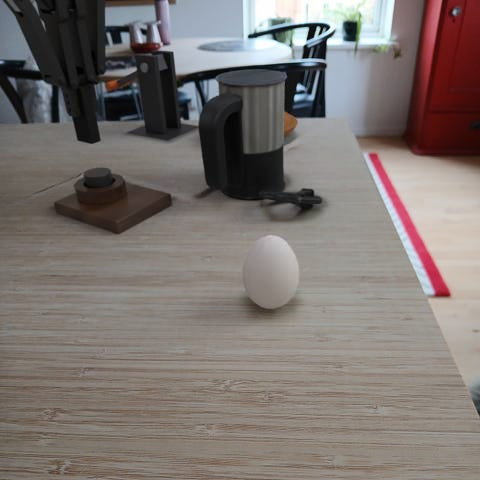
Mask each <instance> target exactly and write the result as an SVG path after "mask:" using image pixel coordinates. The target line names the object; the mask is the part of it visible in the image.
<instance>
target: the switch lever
mask: <svg viewBox="0 0 480 480" xmlns="http://www.w3.org/2000/svg"><path fill="white" fill-rule="evenodd" d="M156 56H158V63H159V71H160V72H161V71H163V70H165V69H167V65H166V62H165V60H164V57H163V54H159V55H156ZM136 79H138V75H137V70H134V71H133V72H130V73H129V74H126V75H125V76H123V77H120V78H118V79H114V80H110V81H107V82H105V84H104V87H105V89H106V91H108V92H111V91H114V90H119V89H121V88H125V87H128V86H130V84H131V82H132V81H135V80H136Z"/></svg>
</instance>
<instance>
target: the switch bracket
mask: <svg viewBox="0 0 480 480" xmlns="http://www.w3.org/2000/svg"><path fill="white" fill-rule="evenodd" d="M159 54H163V57H164V60H165V62H166V65H167V69H165V70H163V71H161V72H160V71H159V63H158V56H156V55H159ZM134 60H135V67H136V71H137V75H138V78H137V81H138V88H139V94H140V101H141V109H142V115H143V122H144V125H142V126H140V127H137V128H135V129H132V130H129V131H127V134H131V135H136V136H142V137H146V138H151V139H157V140H161V141H167V142H169V141H171V140H173V139H176V138H178V137H180V136H183V135H185V134H187V133H190V132H192V131H194V130H197V129H199V125H195V124H193V125H192V124H187V123H182V121H181V119H182V118H181V110H180V101H179V100H180V99H179V91H178V82H177V73H176V72H177V71H176V63H175V62H176V61H175V54H174V51H170V50H158V49H153V50H150V54H146V53H145V54H144V53H143V54H142V53H137V54H134Z"/></svg>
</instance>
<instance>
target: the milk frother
mask: <svg viewBox="0 0 480 480" xmlns="http://www.w3.org/2000/svg"><path fill="white" fill-rule="evenodd" d="M287 78H288V75H287V74H286V73H285V72H283V71H279V70H270V69H259V68H258V69H256V68H255V69H254V68H253V69H252V68H251V69H239V70H233V71H231V70H230V71H228V72H224V73H220V74H218V75H216V76H215V81H216V82H217V84H218V95H216V96H213V97H211V98H210V99H208V101H207V102H206V103H205V104H204V105H203V106H202V108H201V111H200V114H199V118H198V126H199V128H198V134H199V143H200V152H201V159H202V166H203V173H204V180H205V184H206V186H207V187H208V188H210V189H215V190H218V191H222V192H223V193H224V194H226V195H227V196H230V197H233V198H237V199H241V200H260V199H264V200H269V201H276V202H282V203H283V202H285V203H290V204H292V205H295V206H297V207H298V208H300V209H303V210H312V209H313V207H314V205H321V204H323V197H321V196H319V195H316V192H315V190H314V189H313V188H307V187H305V188H304V187H302V188H301V189H300V190H298V191H297V192H287V191H284V190H285V188H286V182H285V172H284V170H285V169H284V142H283V140H284V111H285V83H286V82H285V81H286V80H287Z"/></svg>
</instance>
